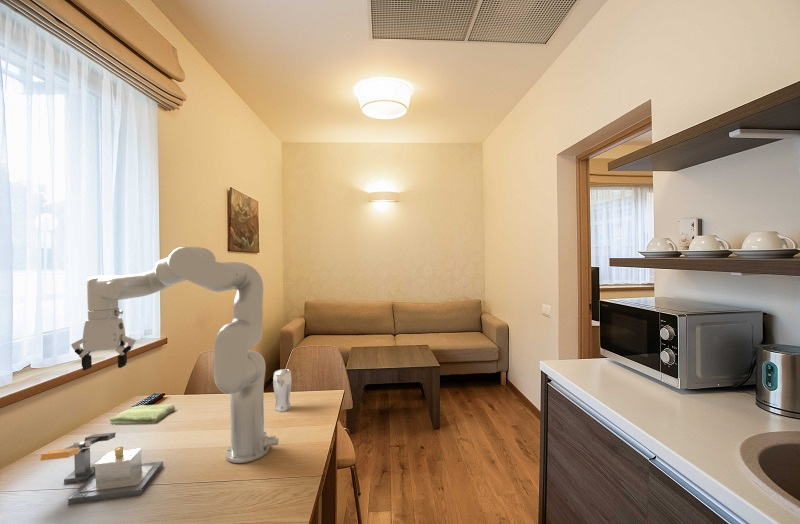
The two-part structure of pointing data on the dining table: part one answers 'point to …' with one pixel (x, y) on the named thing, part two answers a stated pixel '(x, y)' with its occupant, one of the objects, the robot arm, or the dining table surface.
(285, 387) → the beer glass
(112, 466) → the block
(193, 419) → the dining table surface
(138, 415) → the washcloth
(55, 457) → the press lever
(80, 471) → the press bed
